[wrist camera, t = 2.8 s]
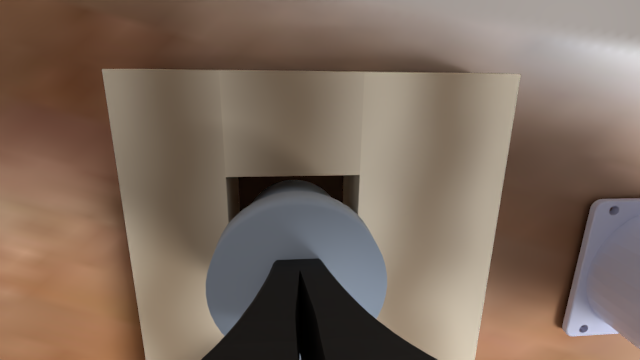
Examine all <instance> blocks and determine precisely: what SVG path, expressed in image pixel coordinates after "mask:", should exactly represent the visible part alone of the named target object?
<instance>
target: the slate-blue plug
mask: <svg viewBox="0 0 640 360" xmlns="http://www.w3.org/2000/svg"><path fill="white" fill-rule="evenodd" d="M316 258H319V259H320V260H321V261H322V262H323V263H324V264H325V266H326V267H327V268H328V270H329V271H330V272H331V273H332V275H333V276H334V277H335V278H336V280H337V281H338V282H339V283H340V284H341V285H342V286H343V288H344V289H345V290H346V291H347V292H348V293H349V294H350V295H351V296H352V297H353V298H354V299H355V300H356V301H357V302H358V303H359V304H360V305H361V306H362V307H363V308H364V309H365V310H366V311H367V312H368V313H369V314H371V315H372V316H373V317H374V318H375V319H377V317H378V315H379V313H380V311H381V309H382V306H383V303H384V300H385V296H386V290H387V272H386V266H385V262H384V259H383V256H382V254H381V252H380V250H379V247H378V245H377V244H376V242H375V240H374V238H373V236H372V234H371V233H370V231H369V229H368V227H367V226H366V224H365V223H364V221H363V220H362V219H361V218H360V217H359V216H358V215H357V214H356V213H355V212H354V211H353V210H352V209H351V208H349V207H348V206H346V205H345V204H343V203H342V202H340V201H338V200H336V199H334V198H332V197H330V195H329V194H328V193H327V192H326V191H324V190H323V189H322V188H320V187H319V186H317V185H315V184H313V183H310V182H307V181H302V180H285V181H281V182H278V183H275V184H273V185H271V186H269V187H267V188H266V189H264V190H263V191H262V192H261V193H259V194H258V196H257V197H256V198H255V199H254V201H253V202H252V204H250V205H249V206H247V207H246V208H244V209H243V210H242V211H241V212H239V213H238V214H237V215H236V216H235V217H234V218H233V219H232V220H231V221H230V223H229V224H228V225H227V227H226V228H225V230H224V231H223V233H222V234H221V236H220V239H219V241H218V243H217V246H216V248H215V251H214V254H213V257H212V259H211V262H210V265H209V269H208V272H207V278H206V299H207V305H208V308H209V311H210V314H211V316H212V318H213V320H214V322H215V324H216V326H217V327H218V328H219V330H220V331H221V333H222V334H223V335H224V336H225V335H226V334H227V333H228V332H229V331H230V330H231V328H232V327H233V326H234V325H235V324H236V322H237V321H238V320H239V319H240V317H241V316H242V315H243V313H244V312H245V311H246V309H247V308H248V307H249V305H250V304H251V303H252V301H253V300H254V298H255V297H256V295H257V293H258V292H259V290H260V289H261V287H262V285H263V284H264V282H265V280H266V278H267V276H268V274H269V272H270V270H271V268H272V265H273V263H274V262H275V261H276V260H290V259H316ZM300 360H301V356H300Z"/></svg>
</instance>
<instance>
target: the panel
mask: <svg viewBox="0 0 640 360" xmlns="http://www.w3.org/2000/svg"><path fill="white" fill-rule="evenodd" d="M102 74H103V80H104V87H105V93H106V100H107V107H108V113H109V120H110V127H111V133H112V140H113V146H114V153H115V160H116V166H117V173H118V180H119V186H120V193H121V199H122V206H123V213H124V219H125V226H126V233H127V239H128V246H129V252H130V259H131V266H132V272H133V279H134V286H135V292H136V299H137V305H138V312H139V319H140V325H141V332H142V339H143V345H144V352H145V358H146V360H201V359H202V358H203V357H204V356H205V355H206V354H207V353H208V352H209V351H211V350H212V349H213V348H214V347H215V346H216V345H217V344H218V343H219V342H220V341H221V339H222V338H223V337H224V335H223V334H222V333H221V331H220V330H219V328H218V327H217V326H216V324H215V322H214V320H213V318H212V316H211V314H210V311H209V308H208V305H207V299H206V278H207V272H208V269H209V265H210V262H211V259H212V257H213V254H214V251H215V248H216V246H217V243H218V241H219V239H220V236H221V234H222V233H223V231H224V230H225V228H226V227H227V225H228V224H229V223H230V221H231V220H232V219H233V218H234V217H235V216H236V215H237V214H238V213H239V212H240V202H239V184H238V177H263V176H325V175H344V179H343V204H345V205H346V206H348V207H349V208H351V209H352V210H353V211H354V212H355V213H356V214H357V215H358V216H359V217H360V218H361V219H362V220H363V221H364V223H365V224H366V226H367V227H368V229H369V231H370V233H371V234H372V236H373V238H374V240H375V242H376V244H377V245H378V247H379V250H380V252H381V254H382V256H383V259H384V262H385V266H386V272H387V290H386V296H385V300H384V303H383V306H382V309H381V311H380V313H379V315H378V317H377V320H378V321H379V322H381V323H382V324H383V325H385V326H386V327H387V328H389V329H390V330H391V331H393V332H394V333H395V334H397V335H398V336H400V337H401V338H403V339H404V340H406V341H407V342H409V343H410V344H412V345H414V346H415V347H417V348H419V349H420V350H422V351H424V352H425V353H427V354H429V355H430V356H432V357H434V358H436V359H438V360H475V355H476V348H477V342H478V336H479V330H480V324H481V318H482V311H483V305H484V299H485V293H486V287H487V281H488V274H489V268H490V262H491V256H492V250H493V244H494V237H495V231H496V225H497V219H498V213H499V207H500V200H501V194H502V188H503V182H504V176H505V170H506V163H507V157H508V151H509V145H510V139H511V133H512V126H513V120H514V114H515V108H516V102H517V96H518V89H519V83H520V77H521V74H500V73H447V72H364V71H281V70H198V69H102Z"/></svg>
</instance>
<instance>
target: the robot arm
mask: <svg viewBox="0 0 640 360" xmlns="http://www.w3.org/2000/svg"><path fill="white" fill-rule="evenodd" d="M611 207H612V209H611V211H609V210H610V208H611ZM562 329H563V331H564V332H565V333H566V334H567V335H569V336H586V335H602V334H617V333H620V334H621V335H622V336H623V337H625V338H626V339H627V340H628V341H630V342H631V343H632V344H634V345H635V346H636V347H637V348H639V349H640V198H622V199H599V200H597V201H595V202H594V203H593V204H592V205H591V208H590V211H589V216H588V220H587V224H586V228H585V232H584V237H583V241H582V245H581V249H580V253H579V258H578V262H577V266H576V270H575V274H574V279H573V283H572V287H571V291H570V295H569V300H568V304H567V308H566V312H565V317H564V321H563V325H562ZM300 356H301V360H438V359H436V358H434V357H432V356H430V355H429V354H427V353H425V352H424V351H422V350H420V349H419V348H417V347H415V346H414V345H412V344H410V343H409V342H407V341H406V340H404V339H403V338H401V337H400V336H398V335H397V334H395V333H394V332H393V331H391V330H390V329H389V328H387V327H386V326H385V325H383V324H382V323H381V322H379V321H378V320H377V319H375V318H374V317H373V316H372V315H371V314H369V313H368V312H367V311H366V310H365V309H364V308H363V307H362V306H361V305H360V304H359V303H358V302H357V301H356V300H355V299H354V298H353V297H352V296H351V295H350V294H349V293H348V292H347V291H346V290H345V289H344V288H343V286H342V285H341V284H340V283H339V282H338V281H337V280H336V278H335V277H334V276H333V275H332V273H331V272H330V271H329V270H328V268H327V267H326V266H325V264H324V263H323V262H322V261H321V260H320V259H319V258H316V259H290V260H276V261H275V262H274V263H273V265H272V268H271V270H270V272H269V274H268V276H267V278H266V280H265V282H264V284H263V285H262V287H261V289H260V290H259V292H258V293H257V295H256V297H255V298H254V300H253V301H252V303H251V304H250V305H249V307H248V308H247V309H246V311H245V312H244V313H243V315H242V316H241V317H240V319H239V320H238V321H237V322H236V324H235V325H234V326H233V327H232V328H231V330H230V331H229V332H228V333H227V334H226V335H225V336H224V337H223V338H222V339H221V341H220V342H219V343H218V344H217V345H216V346H215V347H214V348H213V349H212V350H211V351H209V352H208V353H207V354H206V355H205V356H204V357H203V358H202V359H201V360H300Z"/></svg>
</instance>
